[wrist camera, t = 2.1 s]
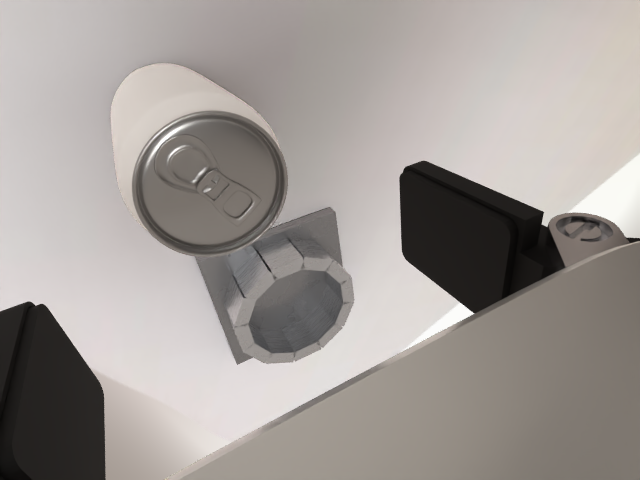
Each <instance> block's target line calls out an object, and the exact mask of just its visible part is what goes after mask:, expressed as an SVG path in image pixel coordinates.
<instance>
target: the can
mask: <svg viewBox="0 0 640 480" xmlns="http://www.w3.org/2000/svg"><path fill="white" fill-rule="evenodd" d="M111 132H112V143H113V153H114V162H115V170H116V177H117V182H118V186H119V190H120V193H121V196H122V198H123V200H124V202H125V205H126V206H127V208H128V210H129V211H130V213H131V214H132V216H133V217H134V218H135V219H136V221H137V222H138V223H139V224H140V225H141V226H142V227H143V228H145V229H146V230H147V231H148V232H149V233H150V234H151V235H152V236H153V237H154V238H155V239H157V240H158V241H159V242H160V243H162V244H163V245H165V246H167V247H168V248H170V249H172V250H175V251H177V252H180V253H183V254H186V255H190V256H197V257H217V256H223V255H227V254H231V253H234V252H237V251H239V250H242V249H244V248H246V247H247V246H249V245H251V244H252V243H254V242H255V241H257V240H258V239H259V238H261V237H262V236H263V235H264V234H265V233H266V232H267V231H268V230H269V229H270V228H271V226H272V225H273V224H274V222H275V221H276V219H277V218H278V216H279V214H280V212H281V210H282V208H283V205H284V202H285V199H286V194H287V187H288V175H287V168H286V163H285V160H284V157H283V155H282V152H281V149H280V146H279V143H278V141H277V138H276V136H275V134H274V132H273V131H272V129H271V127H270V126H269V125H268V123H267V122H266V121H265V120H264V119H263V117H262V116H261V115H260V114H259V113H258V112H257V111H256V110H254V109H253V108H252V107H251V106H249V105H248V104H247V103H245V102H244V101H242V100H241V99H239V98H238V97H236V96H235V95H233V94H231V93H230V92H228V91H227V90H225V89H224V88H222V87H220V86H219V85H217V84H215V83H214V82H212V81H210V80H209V79H207V78H205V77H204V76H202V75H200V74H199V73H197V72H195V71H193V70H191V69H189V68H186V67H184V66H180V65H176V64H169V63H158V64H151V65H147V66H144V67H141V68H139V69H137V70H135V71H133V72H132V73H130V74H129V75H128V76H127V77H126V78H125V79H124V81H123V82H122V83H121V85H120V86H119V88H118V90H117V92H116V94H115V96H114V98H113V101H112V105H111Z"/></svg>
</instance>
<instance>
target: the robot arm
mask: <svg viewBox="0 0 640 480" xmlns="http://www.w3.org/2000/svg"><path fill="white" fill-rule="evenodd" d="M400 209H401V239H402V253H403V255H404V257H405V259H406V260H407V261H408V262H409V263H410V264H412V265H413V266H414V267H416V268H417V269H418V270H419V271H421V272H422V273H423V274H425V275H426V276H427V277H428V278H430V279H431V280H432V281H434V282H435V283H436V284H437V285H439V286H440V287H441V288H442V289H444V290H445V291H446V292H448V293H449V294H450V295H451V296H453V297H454V298H455V299H457V300H458V301H459V302H460V303H462V304H463V305H464V306H466V307H467V308H468V309H469V310H471V311H472V312H473V313H475V314H473V315H471V316H470V317H468V318H466V319H464V320H462V321H460V322H458V323H456V324H454V325H452V326H451V327H448V328H447V329H445V330H443V331H441V332H439V333H437V334H435V335H433V336H431V337H429V338H427V339H426V340H424V341H422V342H420V343H418V344H416V345H414V346H412V347H411V348H409V349H407V350H405V351H403V352H401V353H399V354H397V355H395V356H393V357H391V358H390V359H388V360H386V361H384V362H382V363H380V364H378V365H376V366H374V367H373V368H371V369H369V370H367V371H365V372H363V373H361V374H359V375H357V376H356V377H354V378H352V379H350V380H348V381H346V382H344V383H342V384H340V385H339V386H337V387H335V388H333V389H331V390H329V391H327V392H325V393H324V394H322V395H320V396H318V397H316V398H314V399H312V400H310V401H308V402H307V403H305V404H303V405H301V406H299V407H297V408H295V409H294V410H292V411H290V412H288V413H286V414H284V415H282V416H281V417H279V418H277V419H275V420H273V421H271V422H269V423H267V424H266V425H264V426H262V427H260V428H258V429H256V430H254V431H253V432H251V433H249V434H247V435H245V436H243V437H241V438H239V439H238V440H236V441H234V442H232V443H230V444H229V445H226V446H225V447H223V448H221V449H219V450H217V451H215V452H213V453H212V454H210V455H208V456H206V457H204V458H202V459H200V460H198V461H197V462H195V463H193V464H191V465H189V466H187V467H186V468H184V469H182V470H180V471H178V472H177V473H175V474H173V475H171V476H169V477H168V478H166V479H164V480H640V238H626V237H625V236H624V234H623V233H622V231H621V230H620V229H619V227H617V225H615V224H614V223H613V222H611V221H609V220H607V219H605V218H602V217H599V216H597V215H592V214H586V213H565V214H561V215H557V216H555V217H554V218H552V219H551V220H550V222H549V224H548V227H546V226H543V225H541V224H542V219H543V213H544V212H543V211H540V210H538V209H536V208H533V207H531V206H529V205H526V204H524V203H522V202H519V201H517V200H515V199H513V198H510V197H508V196H506V195H503V194H501V193H499V192H496V191H494V190H492V189H489V188H487V187H485V186H482V185H480V184H478V183H475V182H473V181H471V180H469V179H466V178H464V177H462V176H459V175H457V174H455V173H452V172H450V171H448V170H445V169H443V168H441V167H438V166H436V165H434V164H432V163H429V162H427V161H421V162H418V163H415V164H412V165H410V166H407V167H405V168H404V171H403V173H402V174H401V175H400ZM104 429H105V428H104V394H103V390H102V387H101V384H100V382H99V381H98V379H97V378H96V376H95V375H94V374H93V372H92V371H91V369H90V368H89V366H88V365H87V364H86V362H85V361H84V359H83V358H82V356H81V355H80V354H79V352H78V351H77V349H76V348H75V346H74V345H73V344H72V342H71V341H70V339H69V338H68V336H67V335H66V334H65V332H64V331H63V329H62V328H61V326H60V325H59V324H58V322H57V321H56V319H55V318H54V316H53V315H52V314H51V312H50V311H49V309H48V308H47V307H46V306H45V305H44V304H40V305H37V306H35V305H34V304H33V303H32V302H26V303H23V304H20V305H17V306H14V307H12V308H9V309H6V310H3V311H0V480H105V430H104Z"/></svg>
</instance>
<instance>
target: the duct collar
mask: <svg viewBox="0 0 640 480" xmlns="http://www.w3.org/2000/svg"><path fill="white" fill-rule="evenodd" d="M195 257H196V260H197V262H198V265H199V267H200V270H201V273H202V275H203V278H204V280H205V283H206V285H207V288H208V291H209V293H210V296H211V298H212V301H213V304H214V306H215V309H216V311H217V314H218V317H219V319H220V322H221V324H222V327H223V329H224V332H225V335H226V337H227V340H228V342H229V345H230V348H231V350H232V353H233V355H234V358H235V360H236V363H237V365H238V364H240V363H242V362H244V361H246V360H249V359H251V358H253V357H254V358H255V359H257V360H259V361H261V362H263V363H265V362H266V364H269V363H286V362H293V361H297V360H299V359H301V358H303V357H305V356H308V355H310V354H312V353H314V352H316V351H318V350H320V349H321V347H322V348H323V347H324V346H325V345H326V344H327V343H328V342H329V341H330V340H331V339H332V338H333V337H334V336H335V335H336V334H337V333H338V332H339V331H340V330H341V329H342V328H343V327H342V326H344V325H345V322H346V320H347V318H348V315H349V313H350V310H351V308H352V306H353V303H354V293H353V285H352V277H351V276H350V275H349V274H348V273H347V272H346V271H345V269H344V268H343V266H342V259H341V251H340V244H339V236H338V228H337V221H336V213H335V211H333V210H332V209H331V208H330V207H329V208H326V209H323V210H321V211H318V212H315V213H312V214H310V215H307V216H304V217H301V218H299V219H296V220H293V221H290V222H288V223H285V224H282V225H279V226H277V227H274V228H271V229H269V230H268V231H267V232H266V233H265V234H264V235H263V236H262V237H261V238H259V239H258V240H257V241H255V242H254V243H252V244H251V245H249V246H247V247H246V248H244V249H242V250H239V251H237V252H234V253H231V254H227V255H223V256H217V257H197V256H195Z"/></svg>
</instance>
